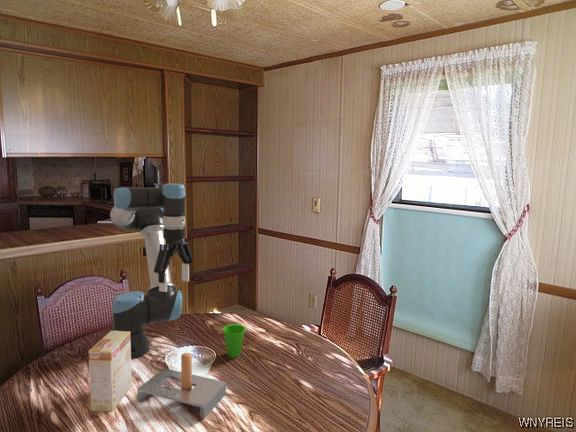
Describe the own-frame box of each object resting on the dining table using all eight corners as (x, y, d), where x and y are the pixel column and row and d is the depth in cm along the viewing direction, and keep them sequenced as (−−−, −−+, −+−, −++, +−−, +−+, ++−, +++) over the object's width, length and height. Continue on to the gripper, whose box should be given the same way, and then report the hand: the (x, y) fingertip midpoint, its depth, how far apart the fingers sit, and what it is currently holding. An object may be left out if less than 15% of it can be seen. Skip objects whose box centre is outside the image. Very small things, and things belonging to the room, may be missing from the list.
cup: (247, 350, 166) (247, 324, 165) (242, 361, 157) (243, 334, 156) (225, 348, 167) (225, 323, 166) (219, 359, 158) (220, 332, 157)
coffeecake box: (112, 384, 138) (110, 330, 136) (132, 385, 138) (131, 330, 136) (89, 411, 124) (87, 350, 121) (112, 412, 123) (110, 351, 121)
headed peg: (175, 401, 130) (174, 357, 128) (184, 393, 135) (184, 350, 133) (189, 405, 128) (189, 360, 126) (197, 396, 133) (197, 353, 131)
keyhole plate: (137, 401, 129) (137, 388, 128) (164, 379, 142) (164, 368, 142) (203, 419, 121) (203, 405, 121) (225, 394, 134) (225, 382, 134)
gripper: (161, 234, 130) (162, 297, 133) (202, 223, 153) (202, 278, 156) (141, 232, 132) (143, 294, 135) (185, 222, 156) (185, 275, 159)
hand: (174, 285), depth 146 cm, fingers open, 13 cm apart
